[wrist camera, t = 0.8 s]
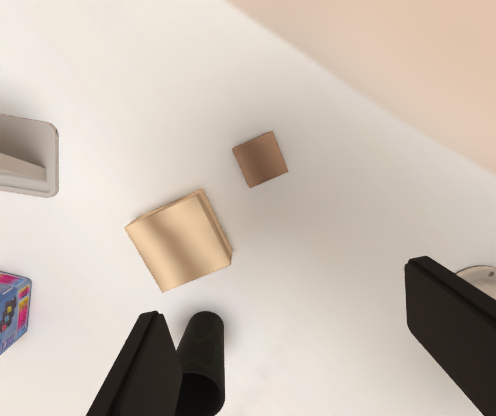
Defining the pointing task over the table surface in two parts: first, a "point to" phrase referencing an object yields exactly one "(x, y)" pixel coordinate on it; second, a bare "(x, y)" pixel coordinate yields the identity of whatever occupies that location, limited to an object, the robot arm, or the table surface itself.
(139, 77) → the table surface
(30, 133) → the phone holder
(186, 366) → the cup
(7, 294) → the ink cartridge box
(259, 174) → the walnut cube
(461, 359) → the robot arm
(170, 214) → the oak block
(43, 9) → the table surface
